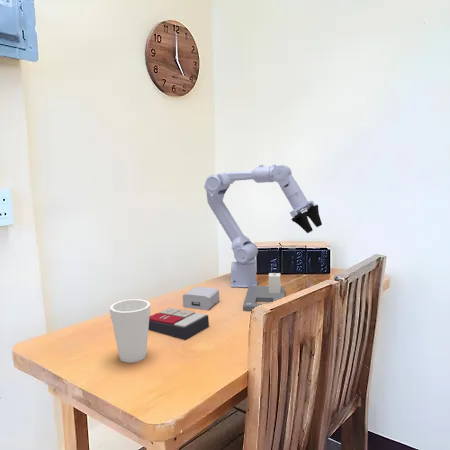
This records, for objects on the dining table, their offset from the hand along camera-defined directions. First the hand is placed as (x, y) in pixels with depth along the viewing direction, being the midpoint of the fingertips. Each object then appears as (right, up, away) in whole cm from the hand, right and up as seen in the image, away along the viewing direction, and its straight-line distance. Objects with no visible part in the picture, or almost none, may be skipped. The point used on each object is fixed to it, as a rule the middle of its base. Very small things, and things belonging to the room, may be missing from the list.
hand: (314, 229), depth 145 cm
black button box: (-45, -29, -26) cm, 59 cm away
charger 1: (-38, -25, -4) cm, 46 cm away
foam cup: (-54, -31, -43) cm, 76 cm away
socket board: (-18, -24, -4) cm, 30 cm away
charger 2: (-14, -22, +1) cm, 26 cm away
